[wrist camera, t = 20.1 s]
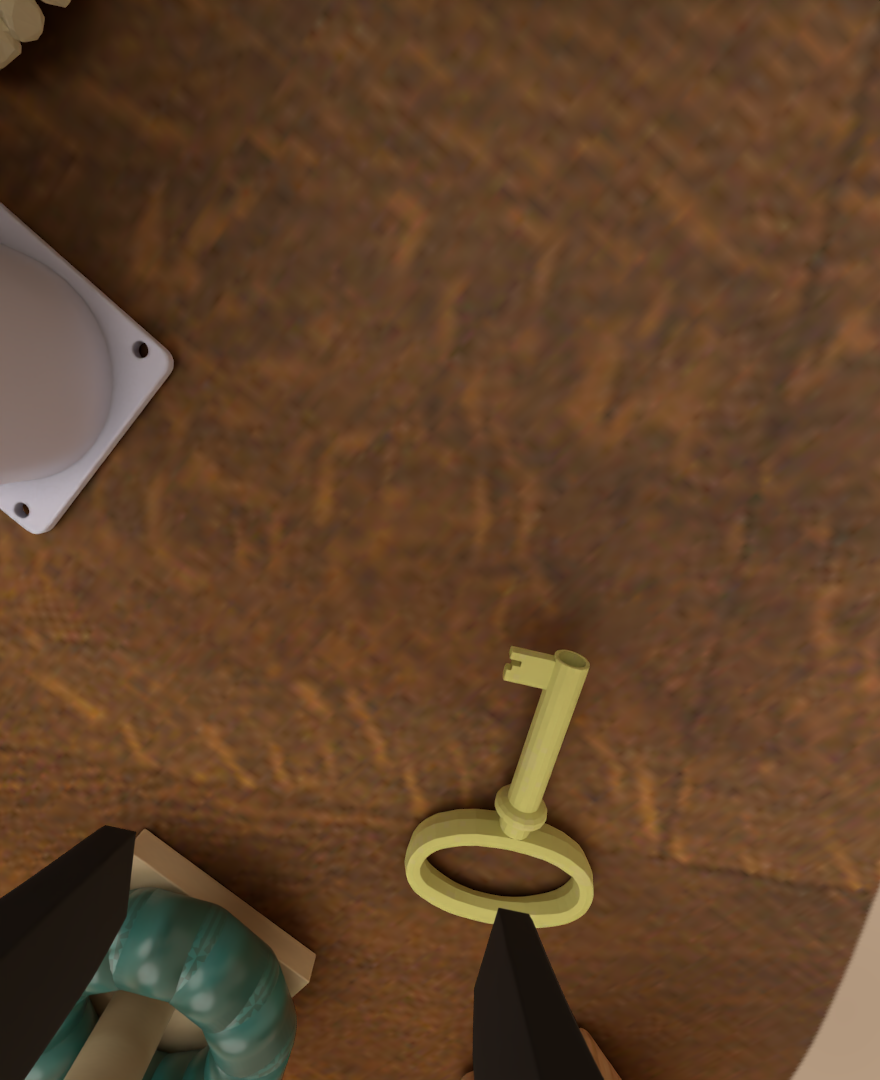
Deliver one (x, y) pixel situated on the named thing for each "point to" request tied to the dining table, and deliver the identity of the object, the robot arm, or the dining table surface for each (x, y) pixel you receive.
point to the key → (516, 809)
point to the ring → (190, 991)
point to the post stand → (149, 1024)
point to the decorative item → (602, 1062)
